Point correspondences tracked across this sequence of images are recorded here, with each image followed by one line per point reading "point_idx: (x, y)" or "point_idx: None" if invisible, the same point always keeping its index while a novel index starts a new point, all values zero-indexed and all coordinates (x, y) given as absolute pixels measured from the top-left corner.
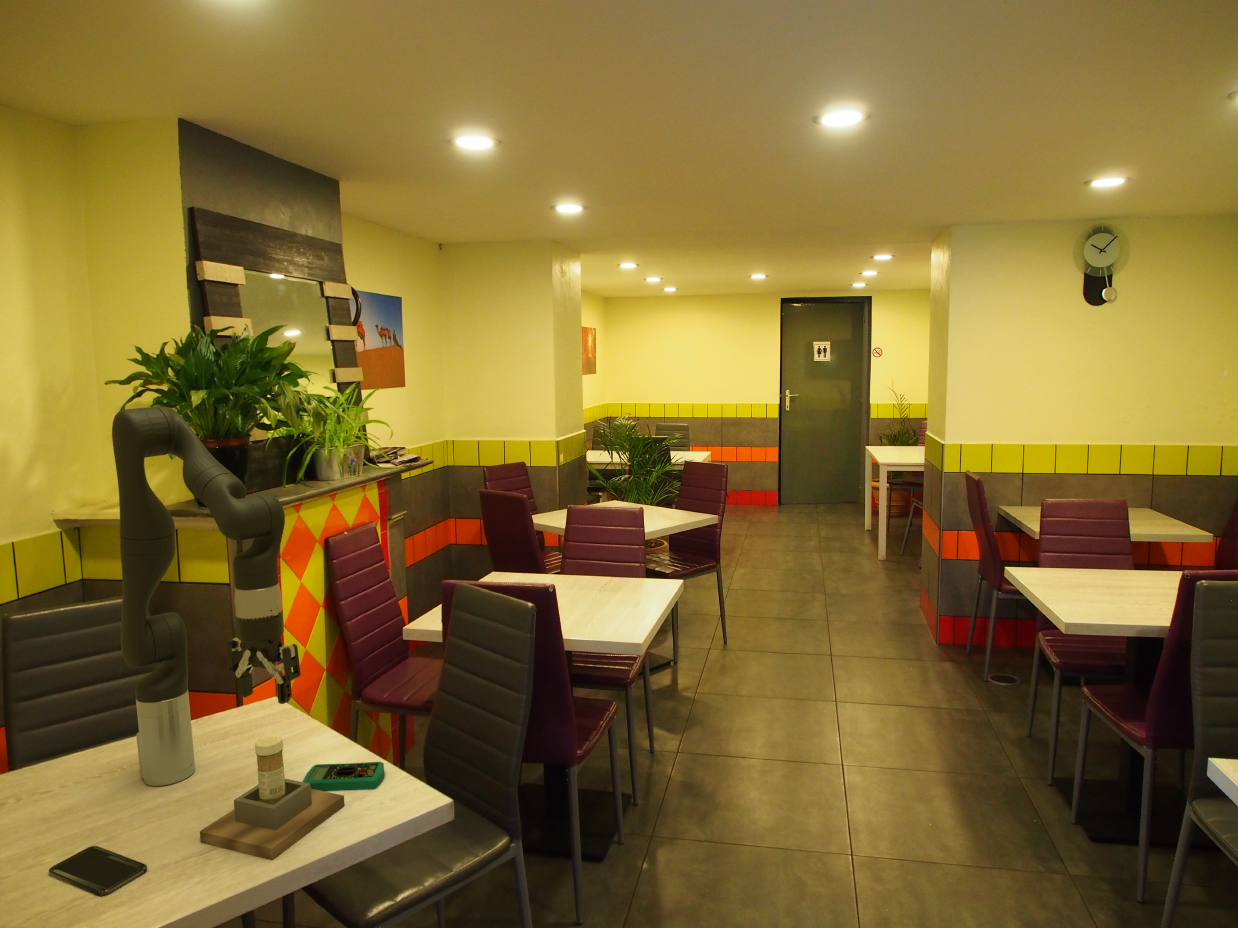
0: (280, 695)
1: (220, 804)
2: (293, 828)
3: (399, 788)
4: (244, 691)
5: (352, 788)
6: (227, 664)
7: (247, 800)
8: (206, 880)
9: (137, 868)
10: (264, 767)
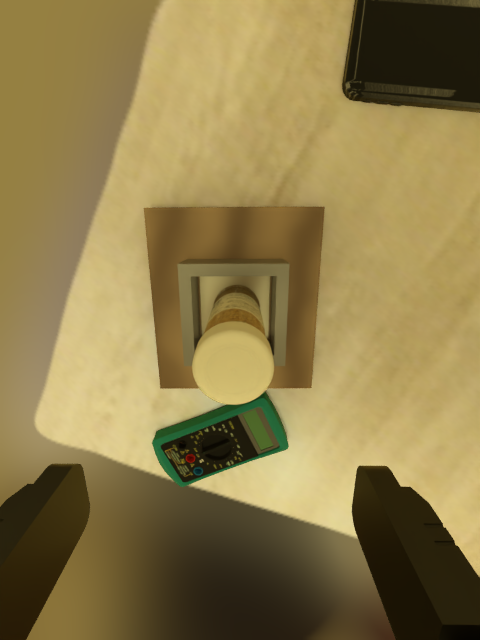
0: (17, 508)
1: (376, 316)
2: (160, 275)
3: (121, 442)
4: (373, 500)
5: (189, 420)
6: None
7: (258, 272)
8: (210, 112)
9: (362, 82)
10: (224, 314)
